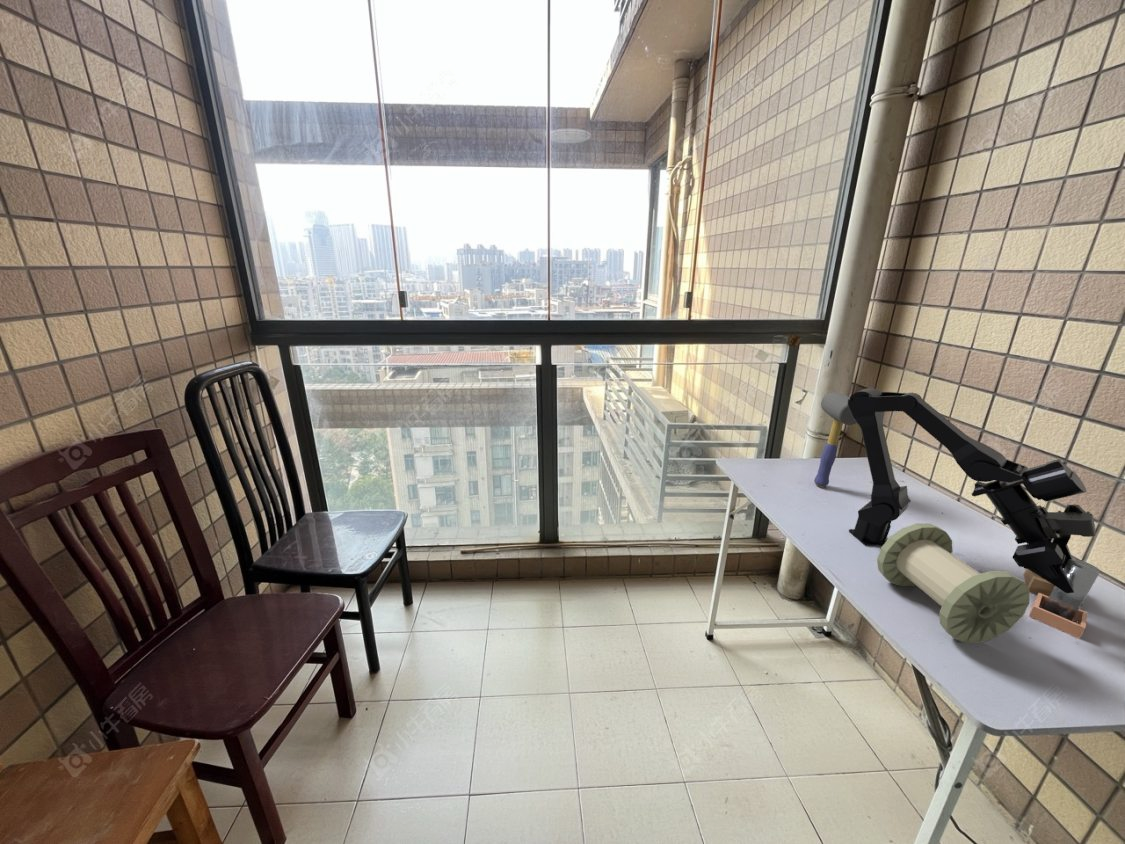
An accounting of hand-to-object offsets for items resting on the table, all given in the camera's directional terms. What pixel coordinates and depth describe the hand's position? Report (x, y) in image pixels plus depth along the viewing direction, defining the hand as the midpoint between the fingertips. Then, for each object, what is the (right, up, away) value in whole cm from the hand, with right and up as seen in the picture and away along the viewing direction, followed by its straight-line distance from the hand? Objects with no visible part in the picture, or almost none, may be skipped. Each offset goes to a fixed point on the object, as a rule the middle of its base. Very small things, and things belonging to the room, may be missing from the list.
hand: (1072, 582), depth 83 cm
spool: (-23, -7, +4) cm, 25 cm away
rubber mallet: (-17, +11, +54) cm, 57 cm away
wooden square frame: (+8, -6, +11) cm, 14 cm away
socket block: (0, -8, +3) cm, 9 cm away
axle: (0, -8, +3) cm, 9 cm away
